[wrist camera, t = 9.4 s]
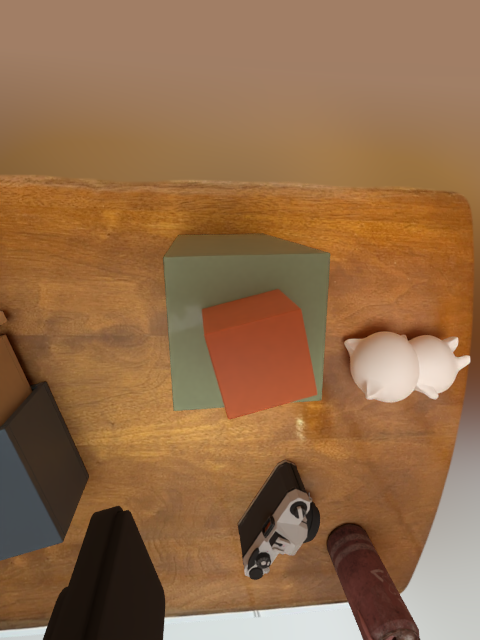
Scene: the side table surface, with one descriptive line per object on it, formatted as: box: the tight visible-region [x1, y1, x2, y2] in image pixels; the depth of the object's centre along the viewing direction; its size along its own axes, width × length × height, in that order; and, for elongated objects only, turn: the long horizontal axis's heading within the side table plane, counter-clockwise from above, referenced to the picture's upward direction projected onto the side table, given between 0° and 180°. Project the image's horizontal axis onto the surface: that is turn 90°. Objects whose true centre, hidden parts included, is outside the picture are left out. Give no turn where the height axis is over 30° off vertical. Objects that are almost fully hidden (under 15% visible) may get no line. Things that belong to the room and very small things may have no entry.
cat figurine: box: [344, 331, 470, 402], centre depth 42 cm, size 9×11×12 cm
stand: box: [163, 233, 330, 411], centre depth 30 cm, size 9×9×20 cm
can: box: [327, 524, 420, 640], centre depth 46 cm, size 6×6×14 cm
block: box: [202, 289, 317, 419], centre depth 18 cm, size 4×4×4 cm
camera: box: [238, 460, 320, 580], centre depth 45 cm, size 13×8×9 cm, turn 153°
